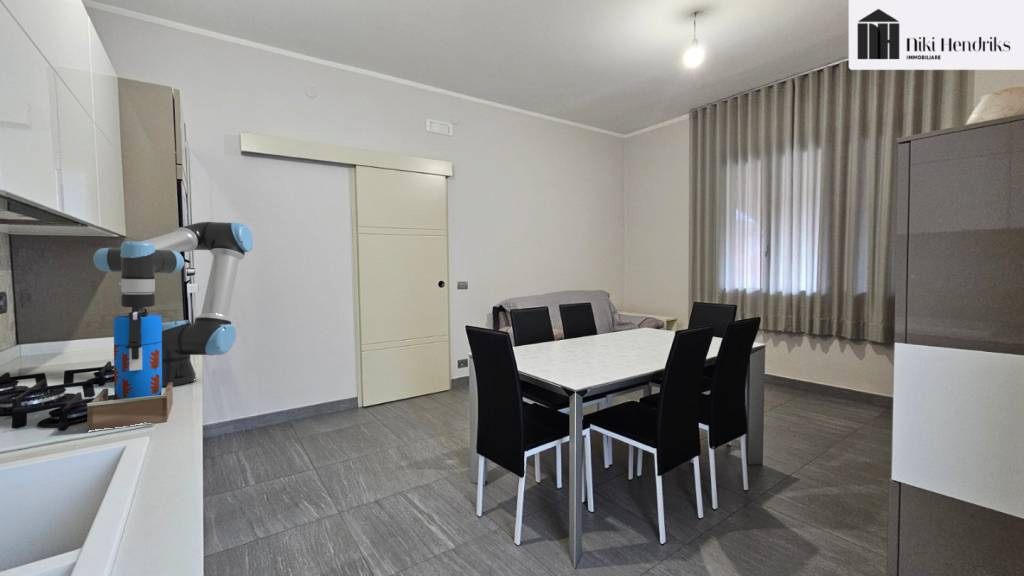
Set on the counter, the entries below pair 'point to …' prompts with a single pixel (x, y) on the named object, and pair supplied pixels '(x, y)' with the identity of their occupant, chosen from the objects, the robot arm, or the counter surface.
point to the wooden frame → (128, 410)
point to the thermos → (151, 373)
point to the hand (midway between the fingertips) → (138, 366)
